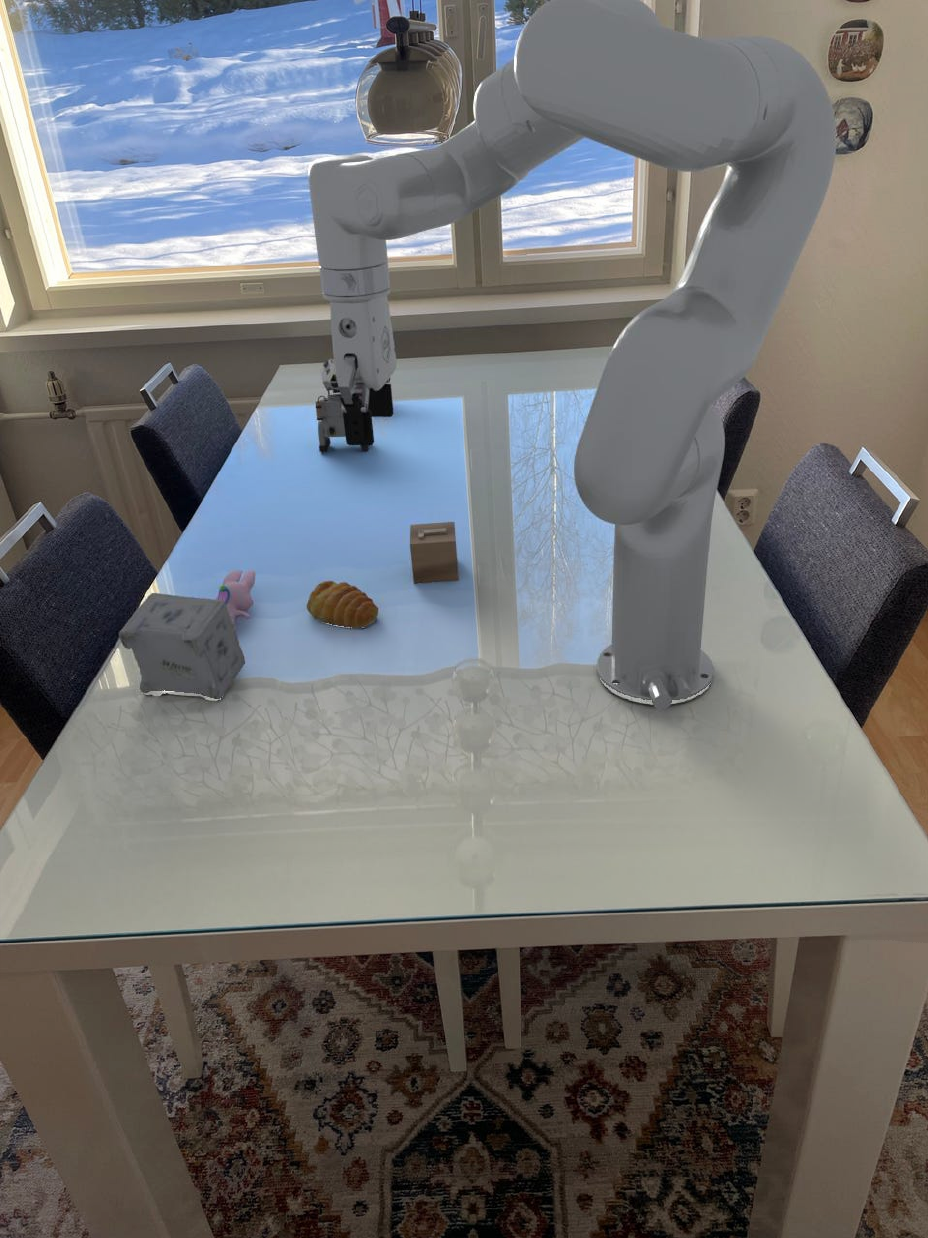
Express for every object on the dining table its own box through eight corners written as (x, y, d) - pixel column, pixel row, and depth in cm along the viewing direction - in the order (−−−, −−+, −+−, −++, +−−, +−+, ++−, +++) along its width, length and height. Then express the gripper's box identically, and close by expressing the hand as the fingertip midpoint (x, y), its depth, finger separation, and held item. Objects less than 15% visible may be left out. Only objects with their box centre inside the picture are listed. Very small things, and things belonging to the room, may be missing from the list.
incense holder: (136, 702, 105) (112, 623, 100) (176, 662, 112) (156, 586, 107) (213, 713, 102) (193, 632, 97) (249, 671, 109) (232, 593, 104)
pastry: (392, 615, 119) (389, 588, 117) (356, 639, 114) (352, 612, 112) (338, 596, 124) (334, 571, 122) (302, 619, 119) (297, 593, 117)
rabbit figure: (245, 655, 115) (271, 579, 126) (234, 617, 111) (262, 544, 123) (196, 655, 116) (226, 580, 127) (183, 618, 112) (216, 545, 123)
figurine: (376, 433, 178) (367, 354, 170) (366, 455, 168) (356, 372, 160) (329, 434, 179) (318, 356, 171) (316, 456, 169) (304, 374, 161)
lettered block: (458, 581, 125) (455, 538, 122) (413, 584, 125) (409, 542, 122) (457, 560, 130) (454, 519, 127) (414, 563, 130) (410, 522, 127)
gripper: (368, 298, 95) (384, 457, 104) (405, 264, 110) (416, 406, 119) (298, 299, 96) (319, 456, 105) (343, 265, 111) (359, 406, 120)
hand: (371, 429), depth 112 cm, fingers open, 9 cm apart
